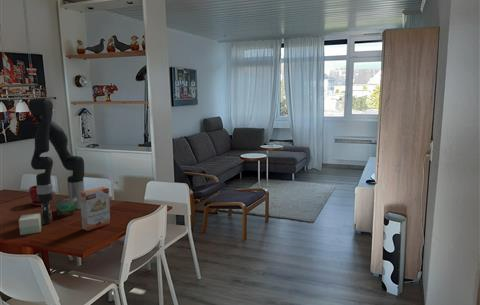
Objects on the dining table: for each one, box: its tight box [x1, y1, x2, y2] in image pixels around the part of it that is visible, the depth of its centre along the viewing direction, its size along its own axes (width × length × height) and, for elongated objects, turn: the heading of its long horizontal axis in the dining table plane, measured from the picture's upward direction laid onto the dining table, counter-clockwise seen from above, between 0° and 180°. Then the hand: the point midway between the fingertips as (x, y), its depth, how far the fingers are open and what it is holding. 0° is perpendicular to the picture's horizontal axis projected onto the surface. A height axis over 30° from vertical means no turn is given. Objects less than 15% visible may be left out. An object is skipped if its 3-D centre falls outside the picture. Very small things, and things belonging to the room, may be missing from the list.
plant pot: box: [28, 184, 53, 207], centre depth 236 cm, size 13×13×12 cm
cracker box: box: [80, 186, 111, 232], centre depth 196 cm, size 14×6×21 cm, turn 145°
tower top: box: [18, 212, 42, 229], centre depth 190 cm, size 9×9×4 cm
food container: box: [53, 197, 77, 218], centre depth 214 cm, size 12×6×10 cm, turn 118°
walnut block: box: [40, 209, 53, 225], centre depth 203 cm, size 5×5×6 cm
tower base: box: [19, 221, 43, 236], centre depth 191 cm, size 9×9×4 cm
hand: (47, 220), depth 204 cm, fingers closed on walnut block, 5 cm apart
